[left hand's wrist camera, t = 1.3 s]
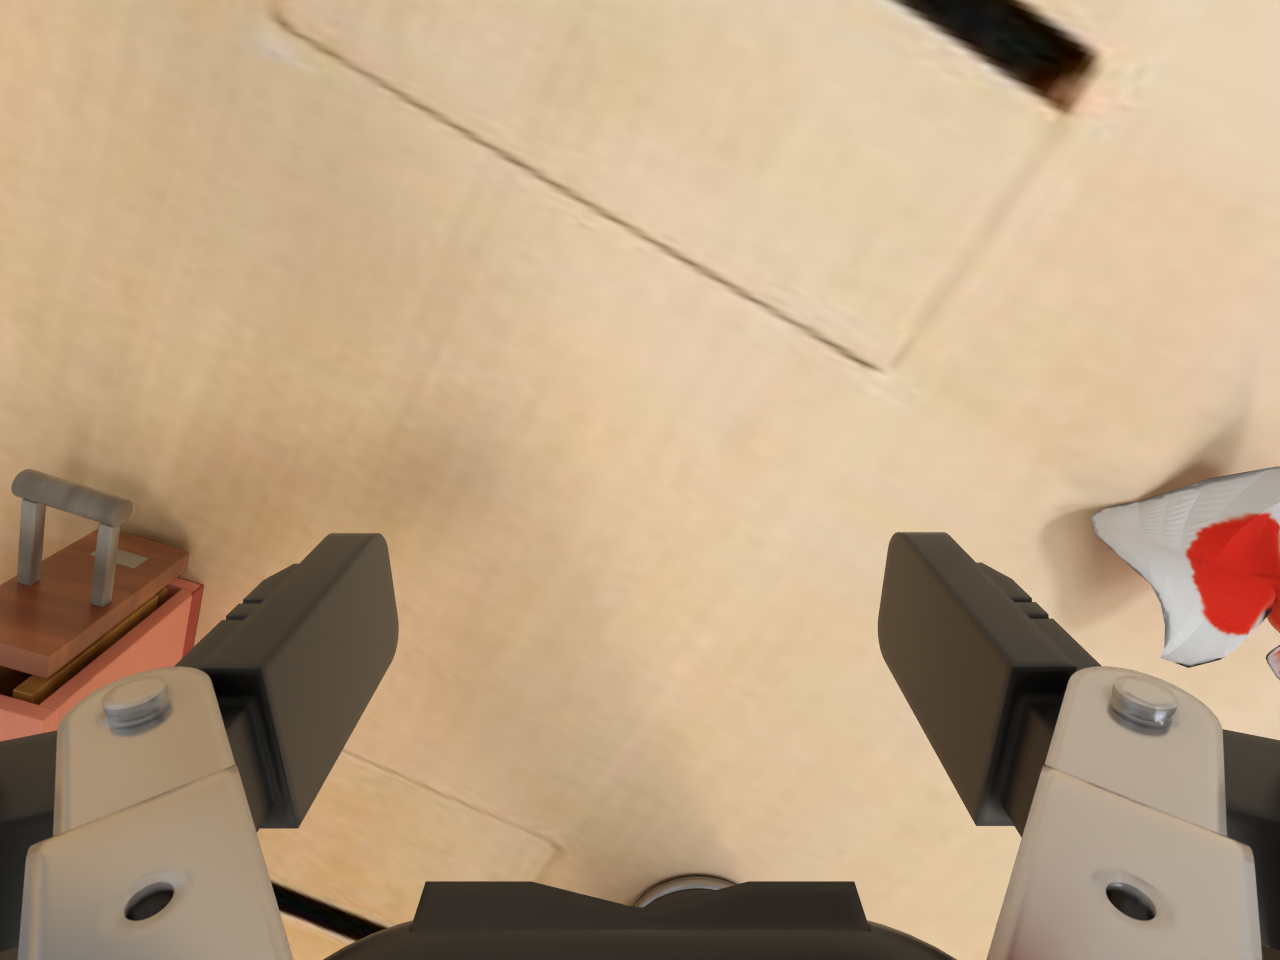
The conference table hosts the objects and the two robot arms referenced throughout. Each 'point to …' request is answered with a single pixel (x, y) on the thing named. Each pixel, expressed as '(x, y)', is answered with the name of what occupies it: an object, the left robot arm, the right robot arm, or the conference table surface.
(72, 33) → the conference table surface
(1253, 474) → the fish
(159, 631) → the cabinet
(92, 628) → the drawer
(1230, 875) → the left robot arm
